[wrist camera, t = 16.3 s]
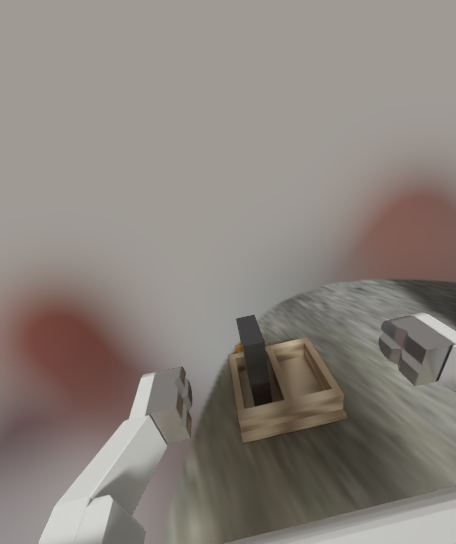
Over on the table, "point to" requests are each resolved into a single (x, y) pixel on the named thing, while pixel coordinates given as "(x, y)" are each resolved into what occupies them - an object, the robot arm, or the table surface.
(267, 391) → the block
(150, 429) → the robot arm
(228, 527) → the table surface
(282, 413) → the wooden divided box
